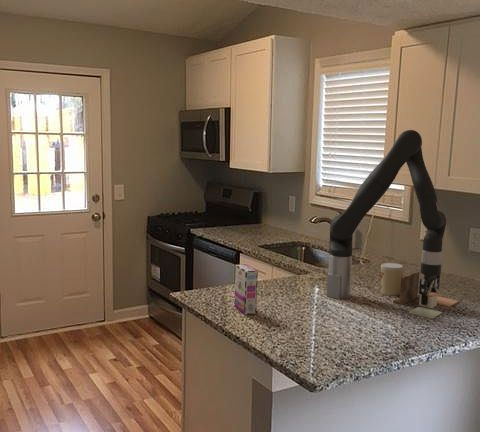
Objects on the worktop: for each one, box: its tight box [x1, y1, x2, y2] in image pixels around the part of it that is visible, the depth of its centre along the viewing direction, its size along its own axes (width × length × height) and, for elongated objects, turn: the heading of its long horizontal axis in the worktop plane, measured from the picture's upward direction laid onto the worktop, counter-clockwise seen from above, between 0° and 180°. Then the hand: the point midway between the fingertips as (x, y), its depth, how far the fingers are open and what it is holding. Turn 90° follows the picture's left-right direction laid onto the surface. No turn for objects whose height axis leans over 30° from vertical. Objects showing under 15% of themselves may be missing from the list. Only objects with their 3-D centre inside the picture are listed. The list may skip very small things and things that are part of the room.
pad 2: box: [437, 295, 460, 308], centre depth 210 cm, size 9×9×1 cm
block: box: [418, 291, 438, 309], centre depth 205 cm, size 5×5×5 cm
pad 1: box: [408, 306, 443, 319], centre depth 196 cm, size 9×9×1 cm
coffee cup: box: [380, 262, 404, 296], centre depth 221 cm, size 9×9×12 cm
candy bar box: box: [233, 264, 259, 316], centre depth 193 cm, size 11×5×16 cm, turn 21°
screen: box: [392, 270, 420, 306], centre depth 211 cm, size 14×4×11 cm, turn 137°
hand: (428, 302), depth 205 cm, fingers open, 7 cm apart
